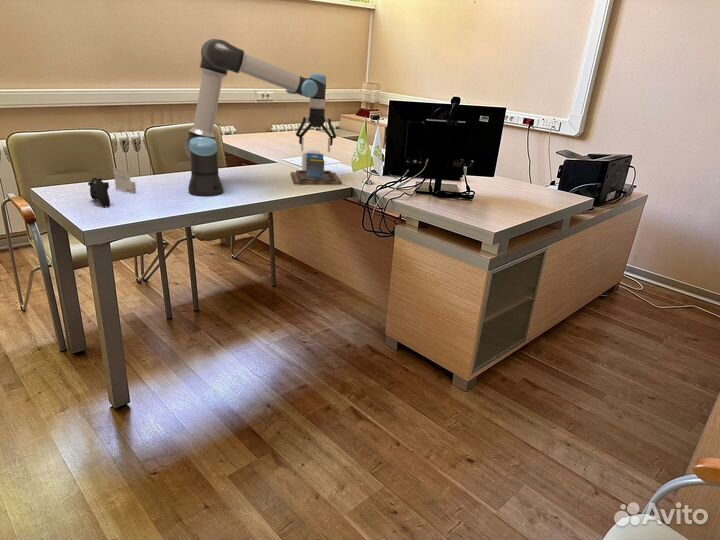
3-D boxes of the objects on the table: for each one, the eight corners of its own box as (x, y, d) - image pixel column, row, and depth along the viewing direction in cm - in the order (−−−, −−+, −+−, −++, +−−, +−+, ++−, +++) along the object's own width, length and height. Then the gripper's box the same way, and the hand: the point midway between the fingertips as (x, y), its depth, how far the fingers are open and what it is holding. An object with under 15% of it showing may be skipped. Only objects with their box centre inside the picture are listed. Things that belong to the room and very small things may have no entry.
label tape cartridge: (324, 176, 263) (325, 152, 259) (323, 178, 260) (323, 154, 255) (307, 175, 264) (307, 151, 259) (306, 177, 261) (306, 152, 256)
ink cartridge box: (120, 188, 226) (117, 166, 222) (136, 193, 221) (134, 170, 217) (115, 189, 224) (112, 167, 220) (131, 194, 219) (129, 171, 215)
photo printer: (319, 171, 282) (320, 148, 277) (321, 172, 278) (321, 150, 273) (301, 171, 279) (301, 148, 275) (302, 172, 276) (302, 149, 271)
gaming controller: (86, 200, 207) (82, 176, 203) (101, 198, 211) (98, 174, 207) (98, 208, 198) (95, 183, 194) (114, 206, 202) (111, 181, 198)
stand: (294, 184, 251) (294, 179, 250) (290, 174, 269) (290, 169, 268) (341, 184, 256) (341, 179, 255) (334, 175, 275) (335, 170, 274)
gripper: (292, 107, 242) (291, 151, 251) (343, 109, 248) (341, 153, 256) (291, 105, 249) (290, 149, 257) (340, 108, 255) (338, 150, 263)
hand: (315, 151), depth 257 cm, fingers open, 13 cm apart
